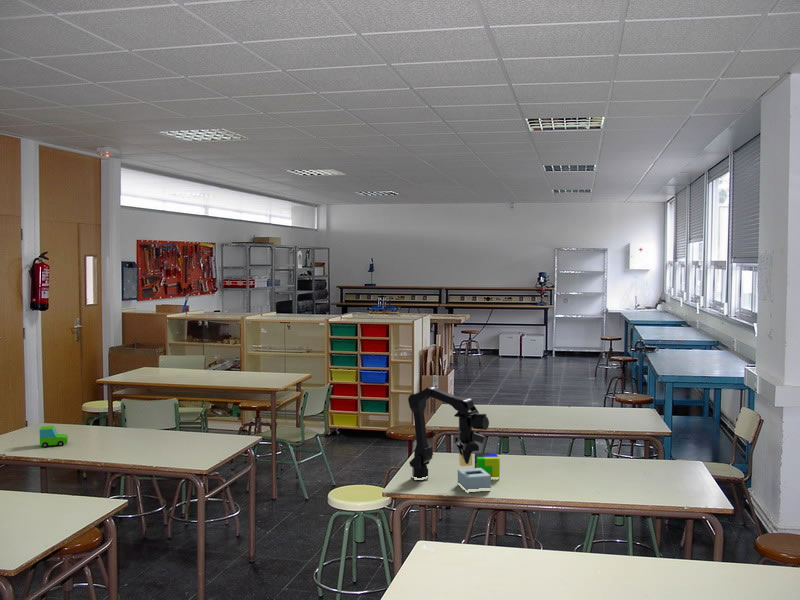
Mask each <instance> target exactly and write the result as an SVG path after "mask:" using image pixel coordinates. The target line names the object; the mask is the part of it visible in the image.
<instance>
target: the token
mask: <svg viewBox="0 0 800 600" xmlns="http://www.w3.org/2000/svg"><path fill="white" fill-rule="evenodd" d="M458 456H459V457H458V458H459V459H458V461H459V463H458V464H459V466H460V467H469V466H473V454H472V453H471V456H470V459H469V463H468V464H466V463H465V460H464V457H463V454H462V453H459V454H458Z"/></svg>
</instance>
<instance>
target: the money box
mask: <svg viewBox="0 0 800 600" xmlns="http://www.w3.org/2000/svg"><path fill="white" fill-rule="evenodd" d="M491 482H492V480H491V475H489V474H488V473H487V472H486V471H484V470H483V469H482V468H475V467H473V468H462V469H461V468H460V469H457V484H458V483H460V484H461V485H462V486H463V487H464V488H465V489H466V490H468V489H479V488H491V489H492V486H491V484H492V483H491Z"/></svg>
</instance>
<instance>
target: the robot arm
mask: <svg viewBox="0 0 800 600" xmlns="http://www.w3.org/2000/svg"><path fill="white" fill-rule="evenodd" d="M431 398H433V399H434V400H438V401H439V402H442V403H445V404H447V405H449V406H451V407H452V409H454V410H455V411H457V412H456V413H455V414H454V417H456V418H458V428H457V432H458V435H454V436H453V437H452V442H453V443H454V444H455V446H456V448H457V450H458V452H459V453H462V454H463V457H464V460H465V463H466V464H468V463H469V459H470V456H471V454H472V453H473V452H479V451H480V446H479V445H478V444H477V443H480V444H484V442H485V438H486V437H485V436H484V435H482V434H481V432H480V431H479V430H481V431H482V430H483V431H487V430H488V428H489V426H490V420H489V417H488V416H487V413H479V410H478V409H477V407H476V406H475V405H474V400H473V399H472V398H469V397H466V396H457V395H453V394H451V393H449V392H447V391H444V390H441V389H439V388H437V387H435V386H429V387H426V388H424V389H423V390H421V391H418V392H416V393H412V394H410V395H409V396H408V397H407V399H408V400H407V403H408V405H409V408H410V411H411V412H412V413H413V424H414V433H415V443H416V445H415V449H414V453H413V454H414V455H413V458H412V459H411V460H410V461H409V462H408V463H409V467H410V468H412V470H411V473H412V475H411V476H413V477H417V478H422V477H426V476H428V477H429V468H428V465H429V464H430V462H431V460H432V459H433V455H434V452H433V446H432V445H431V446H430V445H429V444H428V438H427V429H426V420H425V410H426V406H427V400H428V399H431ZM475 429H476V430H475ZM456 443H457V444H456Z"/></svg>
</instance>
